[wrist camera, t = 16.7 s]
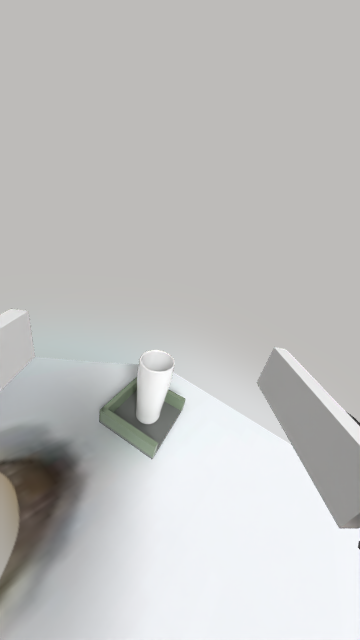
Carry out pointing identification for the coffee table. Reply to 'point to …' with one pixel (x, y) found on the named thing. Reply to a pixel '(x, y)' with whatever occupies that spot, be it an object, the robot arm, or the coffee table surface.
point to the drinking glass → (153, 384)
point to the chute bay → (126, 425)
